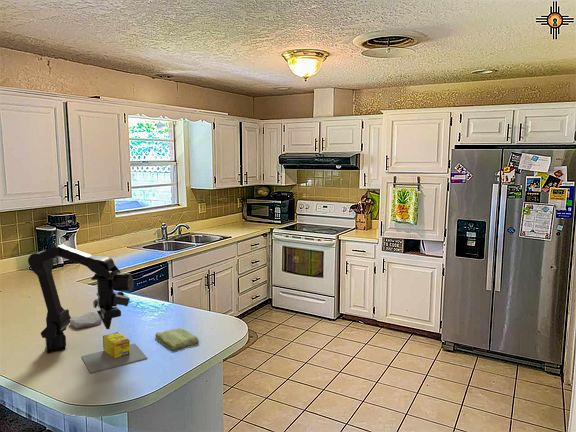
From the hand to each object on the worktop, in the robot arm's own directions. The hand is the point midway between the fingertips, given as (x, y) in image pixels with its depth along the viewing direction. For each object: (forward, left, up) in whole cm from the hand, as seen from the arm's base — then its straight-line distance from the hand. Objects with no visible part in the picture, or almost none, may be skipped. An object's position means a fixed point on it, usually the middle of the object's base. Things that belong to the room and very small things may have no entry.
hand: (107, 329), depth 170 cm
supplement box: (+1, +1, -5) cm, 5 cm away
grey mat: (0, -9, -9) cm, 12 cm away
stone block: (-2, +35, -9) cm, 36 cm away
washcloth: (+25, -7, -9) cm, 28 cm away
